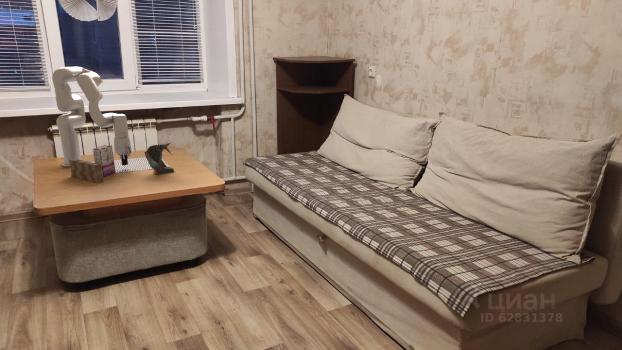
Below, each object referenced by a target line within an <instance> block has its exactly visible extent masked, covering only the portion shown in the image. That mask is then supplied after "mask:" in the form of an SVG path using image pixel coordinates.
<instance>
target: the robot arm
mask: <svg viewBox="0 0 622 350" xmlns="http://www.w3.org/2000/svg"><path fill="white" fill-rule="evenodd" d="M51 78H52V79H51V80H52V84H53V88H54V92H55V100H56V101H55V102H56V107H57V109H58V111H59V112H61V113H62V112H63V113H64V114H61V115H59V116H58V117H57V118H56V127H57V129H58V132H59V135H60V142H61V149H62V155H63V157H61V160H62V161H63V162H62V163H61V166H62V167H67V168H68V167H69V168H70V163H69V160H70V159H79V160H82V154H81V147H80V141H79V140H80V139H79V136H78V133H77V131H76V130H75V129H78V128H82V127H83V126H85V124H86V121H87V120H86V111H85V103H84V100H83V99H82V97H81V96H79V95H78V94H73V93H72V88H71V86H70V85H69V83H70V82H71V83H74V82H77V84H78V86H79V88H80V89H81V91H82V93H83V94H84V96H85V97H86V99H87V101H88V112H89V115H90V117H91V119H92V121H93V123H94V124H95V125H96V126H98V127H99V128H101V129H102V128H108V127H112V126H113V132H114V139H113V148H114V149H113V150H114V153H115V154H117V155H118V156H119V158H120V159H121V160H120V162H121V166H127V165H129V162H128V161H129V157H131V156H132V145H131V140H130V137H129V136H130V135H129V129H128V127H129V125H128V119H127V115H126V114H123V113H114V112H108V113H102V111H101V109H100V107H99V104H100V103H99V102H100V101H101V100H102V99H103V98H104V97H103V96H104V95H103V93H102V92H101V90H100V88H99V86H101V83H102V78H101V76H100V75H99V74H98V73H96V72H94V71H92V70H89V69H86V68H84V67H81V66H65V67H59V68H57V69H55V70H54V71H53V73H52V76H51ZM67 112H69V113H67Z"/></svg>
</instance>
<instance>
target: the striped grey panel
mask: <svg viewBox="0 0 622 350" xmlns="http://www.w3.org/2000/svg"><path fill="white" fill-rule="evenodd" d="M69 163H70V167H69V168H70V175H71V177H73V178H75V179H80V180H84V181H88V182H92V183H96V184H100V183H104V180H103V179H104V177H102V169H101V164H97V163H95V162H92V161H88V160H84V159H83V160H82V159H81V160H79V159H70V160H69Z"/></svg>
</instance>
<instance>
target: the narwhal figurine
mask: <svg viewBox="0 0 622 350" xmlns="http://www.w3.org/2000/svg"><path fill="white" fill-rule="evenodd" d="M170 144H171V142H169V143H162V144H153V145H149V147H147V150H146V151H144V156H145V159H146V160H147V161H148V164H149V167H150V168H151V169H153V175H159V174H163V173H164V174H165V173H174V172H175V169H174V167H173V168H172V167H170V166H167V164H166V163H165V162H164V161H163V160H162V159H163V152H164V150H166V151H167V152H168V153H169V154H170V155H171V156H173V154H172V153H171V151H170V150H169V148H168V146H169V145H170Z"/></svg>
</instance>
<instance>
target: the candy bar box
mask: <svg viewBox="0 0 622 350" xmlns="http://www.w3.org/2000/svg"><path fill="white" fill-rule="evenodd" d="M113 150H114V149H113V145H112V144H103V145H101V146H97V147H94V148H92V152H93V159H94V163H97V164H101V169H102V177H103V178H104V177H107V176H109V175H111V174H113V173H116V165H115V159H114V151H113Z"/></svg>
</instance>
